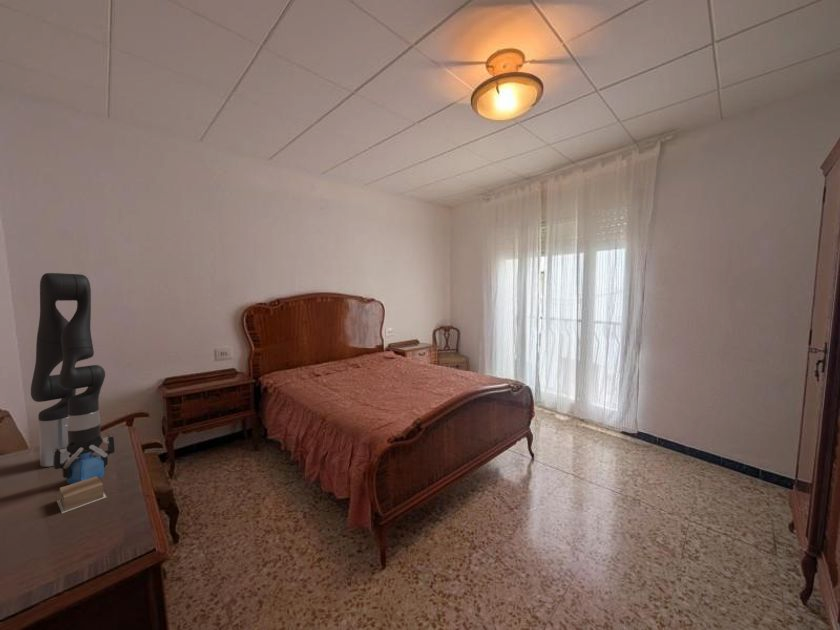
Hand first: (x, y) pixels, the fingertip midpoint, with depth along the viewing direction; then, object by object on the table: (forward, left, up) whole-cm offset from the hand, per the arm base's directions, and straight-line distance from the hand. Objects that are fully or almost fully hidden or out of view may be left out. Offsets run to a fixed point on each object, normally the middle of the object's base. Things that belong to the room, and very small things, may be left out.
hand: (85, 472), depth 107 cm
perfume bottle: (0, 0, -4) cm, 4 cm away
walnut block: (+14, -3, -2) cm, 14 cm away
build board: (+14, -3, -4) cm, 15 cm away
